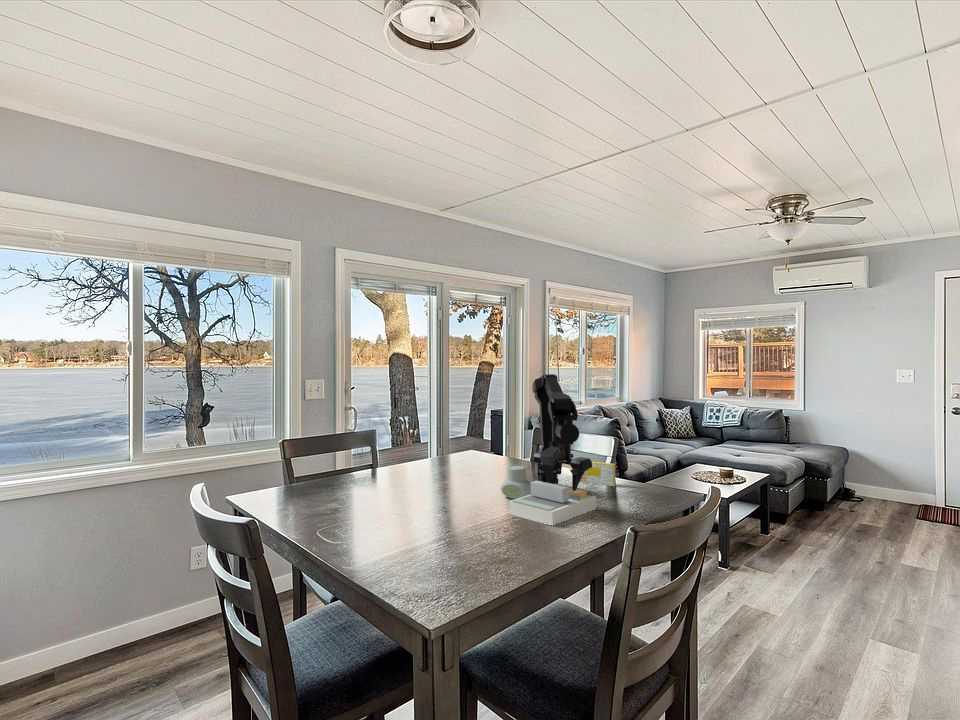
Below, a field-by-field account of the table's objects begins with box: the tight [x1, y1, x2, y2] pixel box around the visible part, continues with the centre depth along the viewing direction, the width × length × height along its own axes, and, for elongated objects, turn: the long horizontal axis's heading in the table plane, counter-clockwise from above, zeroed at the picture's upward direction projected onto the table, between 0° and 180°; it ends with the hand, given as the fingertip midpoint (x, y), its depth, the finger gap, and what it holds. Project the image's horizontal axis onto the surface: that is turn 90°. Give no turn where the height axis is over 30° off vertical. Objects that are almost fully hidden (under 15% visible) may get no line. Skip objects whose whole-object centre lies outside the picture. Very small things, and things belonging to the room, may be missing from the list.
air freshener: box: [500, 465, 531, 500], centre depth 172 cm, size 11×8×10 cm
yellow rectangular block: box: [568, 487, 587, 498], centre depth 160 cm, size 12×4×2 cm, turn 45°
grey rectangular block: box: [530, 480, 569, 503], centre depth 154 cm, size 12×3×4 cm, turn 45°
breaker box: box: [509, 483, 597, 527], centre depth 155 cm, size 16×22×6 cm
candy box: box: [580, 461, 616, 488], centre depth 189 cm, size 16×2×8 cm, turn 58°
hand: (562, 488), depth 158 cm, fingers open, 9 cm apart
